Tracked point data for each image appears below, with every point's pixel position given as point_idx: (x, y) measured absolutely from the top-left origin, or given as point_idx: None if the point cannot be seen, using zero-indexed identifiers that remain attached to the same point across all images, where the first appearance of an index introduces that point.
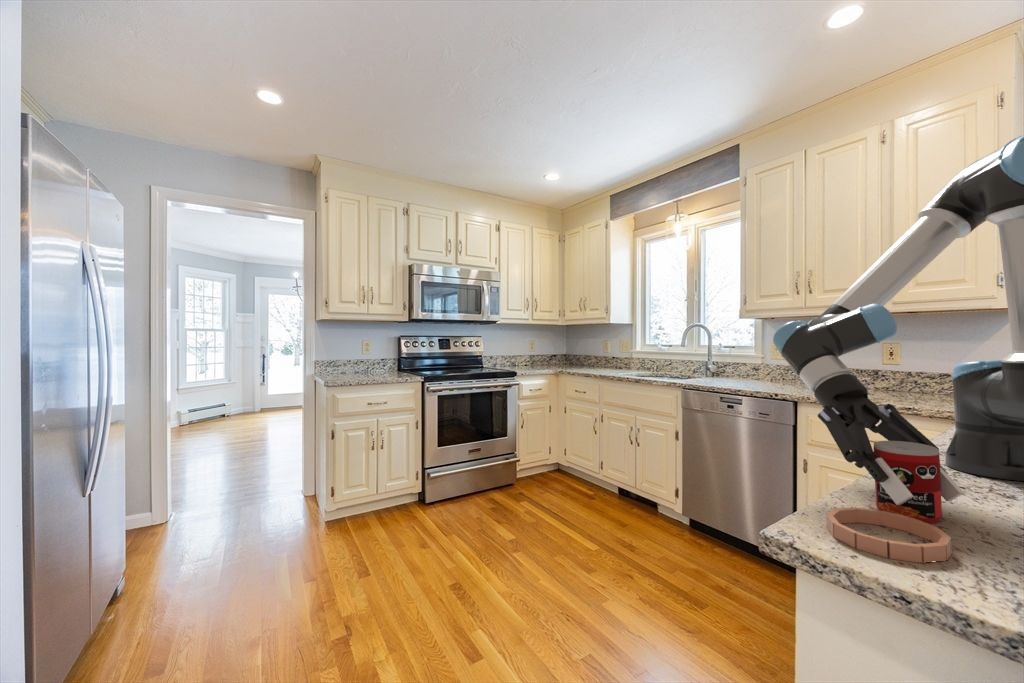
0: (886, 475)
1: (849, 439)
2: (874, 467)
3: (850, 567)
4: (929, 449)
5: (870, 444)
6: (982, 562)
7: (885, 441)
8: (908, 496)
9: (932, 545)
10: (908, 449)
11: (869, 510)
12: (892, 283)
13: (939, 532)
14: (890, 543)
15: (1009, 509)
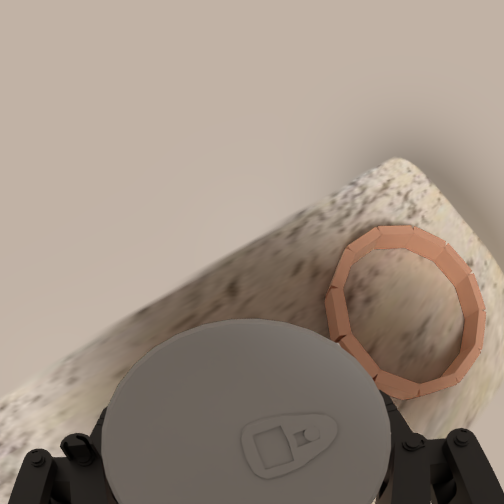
0: None
1: (489, 484)
2: (399, 416)
3: (479, 241)
4: (162, 387)
5: (391, 500)
6: (319, 234)
7: None
8: (338, 344)
9: (396, 227)
10: (259, 421)
11: (398, 379)
12: None
13: (349, 264)
14: (444, 241)
15: (18, 395)
